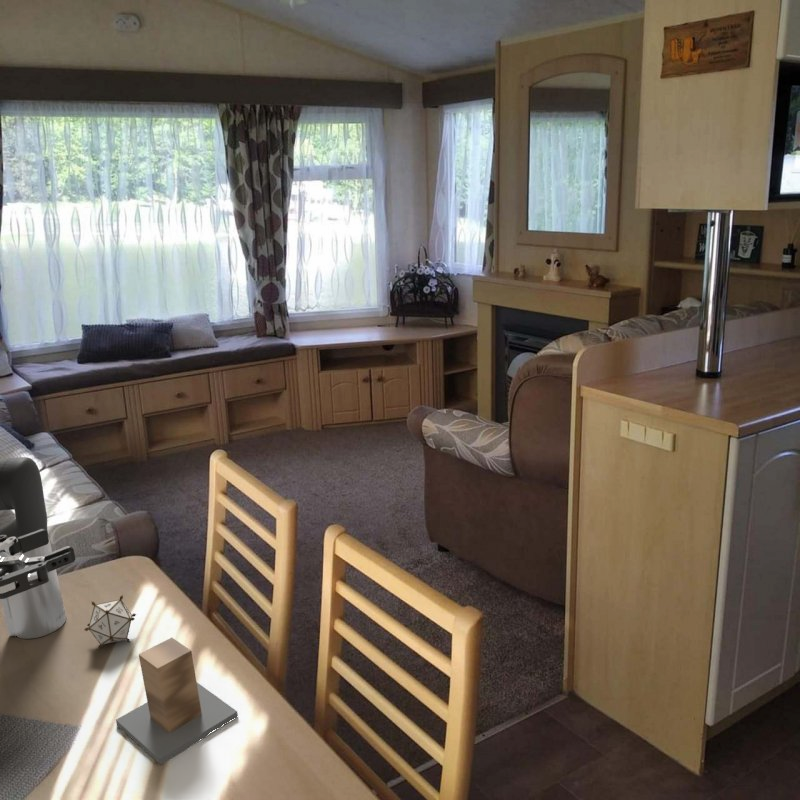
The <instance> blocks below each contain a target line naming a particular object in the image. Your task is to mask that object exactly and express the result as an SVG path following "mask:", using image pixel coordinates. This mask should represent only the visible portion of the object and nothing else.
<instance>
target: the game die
mask: <svg viewBox="0 0 800 800" xmlns="http://www.w3.org/2000/svg"><path fill="white" fill-rule="evenodd" d="M123 598H124V595H122V594H121V596H120V597H119V599H115V600H111V601H105V602H102V603H97V604H96V602H95V601H90V602H91V605H92V606H93V610H92V613H91V616H90V620H89V621H90V622H89V623H87V624H86V625H87V627H85V628H84V629H83V631H86V632H87V631H89V632H90V633H91V634H92V636H93V637H94V638H95V640H96V641H97V642H98V644H99V645H98V650H101V648H103V647H102V646H103V645H107V644H112V643H117V642H120V641H121V642H122V641H125V640H126V641H125V642H127V643H131V641H130V638H128V636H129V632H130V627H131V623H132V621H134V620H136V619H135V618H134V617H136V616H137V614H136V613H131V612H130V610H129V609H128V607H127V606H126V604H125V603H124V602H123Z"/></svg>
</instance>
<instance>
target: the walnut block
mask: <svg viewBox="0 0 800 800" xmlns="http://www.w3.org/2000/svg"><path fill="white" fill-rule="evenodd" d="M138 659H139V665H140V671H141V674H142V680H143V685H144V692H145V696H146V703H147V702H148V707H149V713H150V718H152V719H153V720H154V721H155V722H156V723H158V724H159V725H160V726H161V727H162V728H163V729H165V730H166V731H167V732H168V733H171V732H172V731H174V730H176V729H177V728H179V727H181V726H183V725H184V724H186V723H188V722H189V721H191V720H193V719H194V718H196V717H198V716H199V715H201V714H202V712H201V706H200V700H199V694H198V688H197V683H198V682H197V677H196V672H195V671H196V670H195V666H194V660H193V652H192V650H191V649H190V648H188V647H186V646H185V645H184V644H183V643H181V642H179V641H178V640H177V639H175V638H174V637H170V638H168V639H166V640H164V641H162V642H159V643H158V644H156V645H154V646H152V647H150V648H147V649H146V650H144V651H142V652H141V653H139V654H138Z"/></svg>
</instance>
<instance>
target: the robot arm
mask: <svg viewBox="0 0 800 800" xmlns="http://www.w3.org/2000/svg"><path fill="white" fill-rule="evenodd" d="M40 472H41V471H40V469H39V467H38V465H37V463H36V462H35V461H34V459H32V458H30V457H28V456H27V457H25V456H19V457H18V456H16V457H4V458H3V457H2V458H0V511H14V515H15V518H14V519H12V520H11V521H8V522H6V523H4V524H2V525H0V603H1V608H2V612H3V617H4V620H5V624H6V629H7V634H8V636H9V637H16V636H17V638H19V639H26V640H27V639H36V638H41V637H43V636H47V635H49V634H51V633H54V632H55V631H57V630H58V629H60V628H61V627H62V626H63V625H64V624H65V623H66V621H67V616H66V608H65V606H64V605H65V604H64V601H63V596H62V592H61V587H60V583H59V577H58V573H57V569H60V568H62V567H65V566H67V565H70V564H72V563H74V562H75V561H76V554H75V549H74V548H73V547H72V546H71V545H66V546H64V547H61V548H59V549H56V550H52V545H51V541H50V540H51V539H50V537H49V536H50V535H49V531H48V514H47V513H48V512H47V509H46V508H47V507H46V502H45V501H46V500H45V494H44V488H43V481H42V477H41V473H40Z"/></svg>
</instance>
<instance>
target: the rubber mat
mask: <svg viewBox="0 0 800 800" xmlns="http://www.w3.org/2000/svg"><path fill="white" fill-rule="evenodd" d="M197 688H198V694H199V700H200V706H201V712H202V714H201V715H199V716H198V717H196V718H194V719H193V720H191V721H189V722H188V723H186V724H184V725H183V726H181V727H179V728H177V729H176V730H174V731H172V732H171V733H168V732H167V731H166V730H165V729H163V728H162V727H161V726H160V725H159V724H158V723H156V722H155V721H154V720H153V719H152V718H150V713H149V707H148V702H147V701H146V702H145V703H142V705H139V706H138V707H136V708H133V710H130V711H129V712H127V713H125V714H123V715H122V716H120V717H118V718H117V719H115V723H116V726H117V727H118V728H119V729H121V731H122V732H124V733H125V734H126V735H127V736H128V737H129V738H130V737H131V738H132V739H131V738H130V739H131V740H132V741H133V742H135V743H136V742H137V743H138V744H137V743H136V744H137V745H138V747H140V748H141V749H143V750H144V751H145V752H146V753H147V754H148V755H149V756H150V757H151V758H152V759H153V760H155V761H156V762H157V763H158V764H159V765H160V766H161V765H163V764H165V763H166V762H168V761H170V760H171V759H173V758H174V757H176V756H178V755H179V754H181V753H183V752H184V751H186V750H188V749H189V748H191V747H192V746H194V745H195V744H197V743H199V742H200V741H201V740H200V739H202V738H203V739H205V738H206V737H205V736H207V735H208V734H209V733H210V732H212V731H213V730H215V729H217V728H219V727H221V726H222V725H223V724H225V723H227V722H229V721H230V720H232V719H234V718H236V717H237V716H238V715H239V714H238V710H236V709H234V708H233V707H232V706H231V705H230V704H228V703H226V702H225V701H223V700H222V699H221V698H219V697H218V696H217V695H215V694H214V693H213V692H212V691H210V690H208V689H207V688H206V687H204V686H203V685H201V684H200V683H199V682H197ZM238 717H239V716H238ZM238 717H237V718H238ZM237 718H236V719H237ZM234 720H235V719H234ZM232 721H233V720H232ZM229 723H230V722H229ZM221 728H222V727H221ZM208 736H209V735H208ZM208 736H207V737H208ZM204 737H205V738H204ZM203 739H202V740H203ZM199 740H200V741H199ZM198 741H199V742H198ZM196 742H197V743H196ZM193 744H194V745H193ZM190 746H191V747H190Z"/></svg>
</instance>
